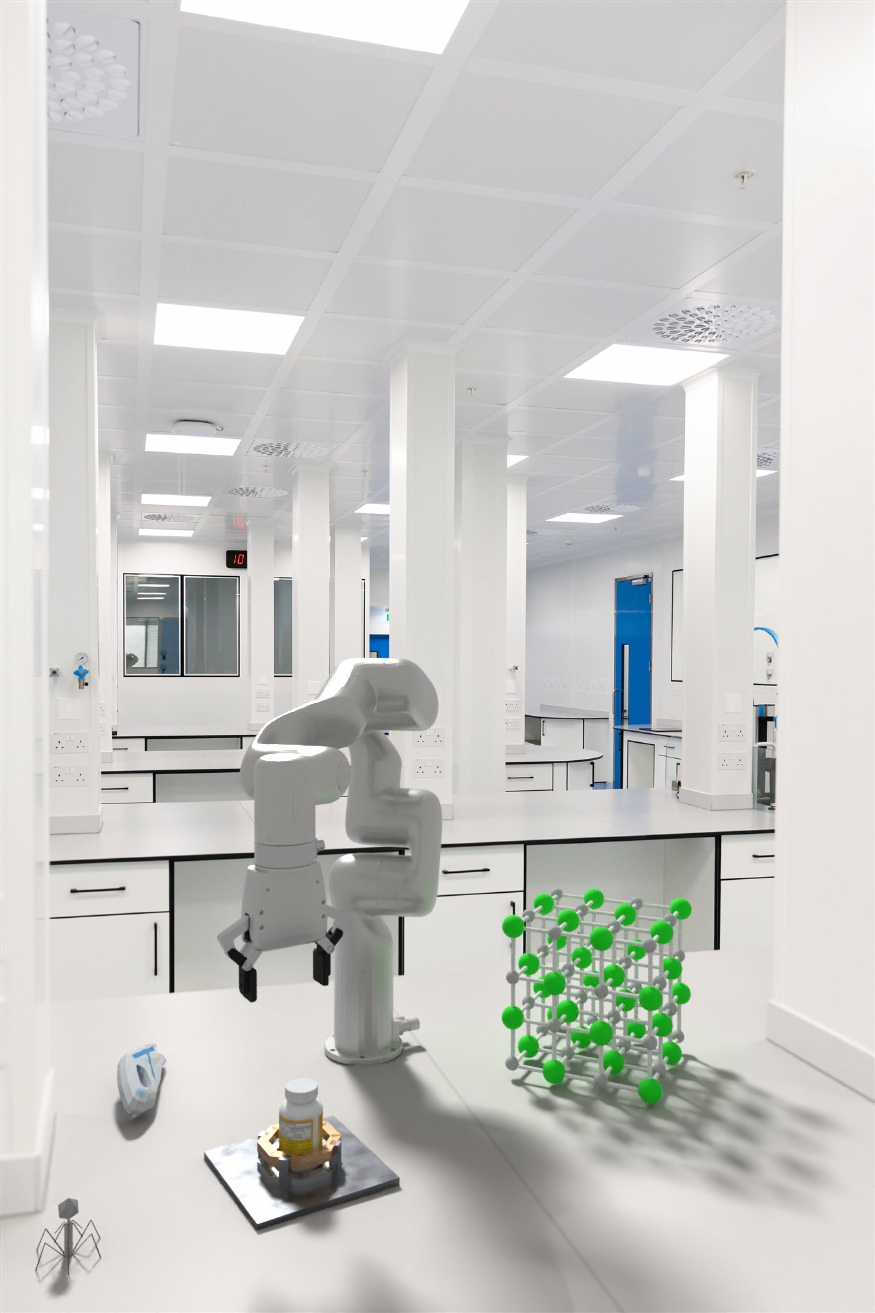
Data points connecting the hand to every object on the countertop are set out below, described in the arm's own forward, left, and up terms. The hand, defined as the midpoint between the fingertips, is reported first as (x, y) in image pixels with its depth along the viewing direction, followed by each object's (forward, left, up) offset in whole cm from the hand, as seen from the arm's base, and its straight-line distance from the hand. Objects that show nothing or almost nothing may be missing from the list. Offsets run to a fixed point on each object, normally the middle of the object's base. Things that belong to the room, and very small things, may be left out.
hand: (285, 990), depth 121 cm
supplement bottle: (-1, +3, -21) cm, 21 cm away
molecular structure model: (-54, -3, -22) cm, 58 cm away
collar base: (-1, +3, -22) cm, 22 cm away
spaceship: (+7, -25, -23) cm, 35 cm away
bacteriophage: (+27, +6, -22) cm, 35 cm away
